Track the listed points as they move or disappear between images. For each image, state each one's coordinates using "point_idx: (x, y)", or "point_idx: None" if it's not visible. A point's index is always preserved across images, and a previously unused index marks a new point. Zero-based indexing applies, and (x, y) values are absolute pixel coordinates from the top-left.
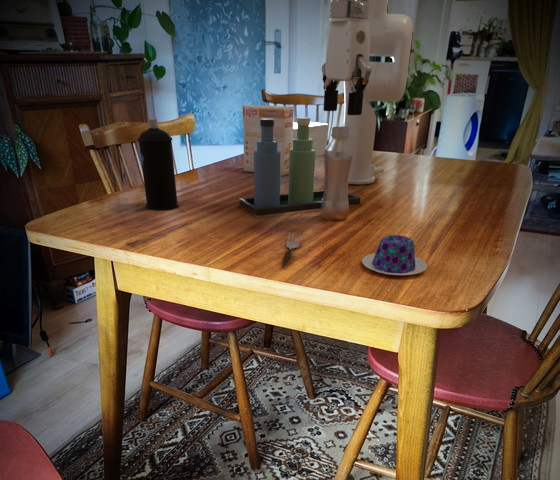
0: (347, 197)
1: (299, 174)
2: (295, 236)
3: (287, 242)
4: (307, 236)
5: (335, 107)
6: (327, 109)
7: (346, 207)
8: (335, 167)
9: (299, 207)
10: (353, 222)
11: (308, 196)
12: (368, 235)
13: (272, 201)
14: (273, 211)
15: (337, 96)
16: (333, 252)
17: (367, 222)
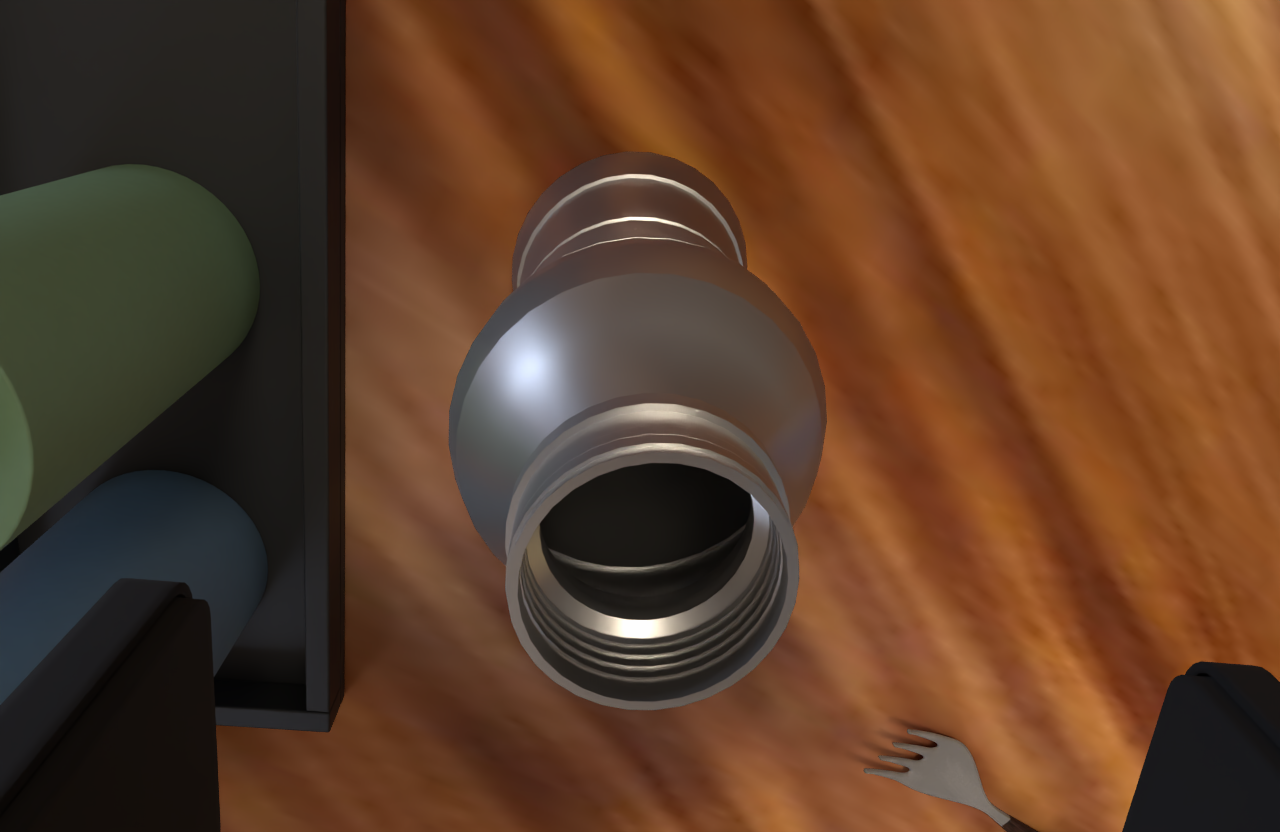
0: (725, 233)
1: (125, 439)
2: (907, 749)
3: (903, 782)
4: (838, 611)
5: (187, 663)
6: (216, 826)
7: (742, 241)
8: (735, 486)
9: (335, 401)
10: (754, 152)
11: (229, 287)
12: (1055, 261)
13: (243, 601)
14: (337, 602)
15: (53, 804)
16: (1145, 634)
17: (813, 45)
